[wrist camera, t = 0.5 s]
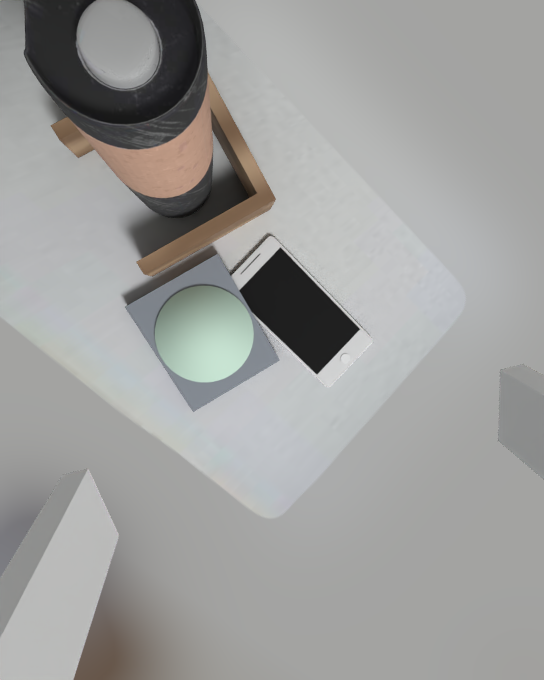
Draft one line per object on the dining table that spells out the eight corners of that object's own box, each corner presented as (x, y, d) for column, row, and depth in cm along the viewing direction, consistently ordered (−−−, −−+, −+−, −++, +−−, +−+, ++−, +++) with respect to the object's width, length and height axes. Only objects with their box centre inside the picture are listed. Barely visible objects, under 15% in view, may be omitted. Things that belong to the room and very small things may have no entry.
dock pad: (128, 306, 36) (124, 307, 34) (217, 255, 36) (217, 253, 35) (194, 408, 38) (193, 412, 36) (277, 358, 38) (280, 360, 37)
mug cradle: (70, 145, 33) (50, 125, 29) (198, 76, 34) (195, 48, 30) (152, 276, 36) (144, 274, 32) (269, 209, 36) (275, 199, 33)
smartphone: (326, 387, 40) (328, 389, 39) (220, 286, 37) (221, 286, 36) (371, 339, 40) (375, 340, 39) (270, 235, 37) (271, 233, 36)
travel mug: (231, 184, 36) (245, 51, 16) (172, 238, 36) (113, 168, 16) (174, 118, 34) (114, -118, 15) (113, 173, 34) (-32, 10, 14)
